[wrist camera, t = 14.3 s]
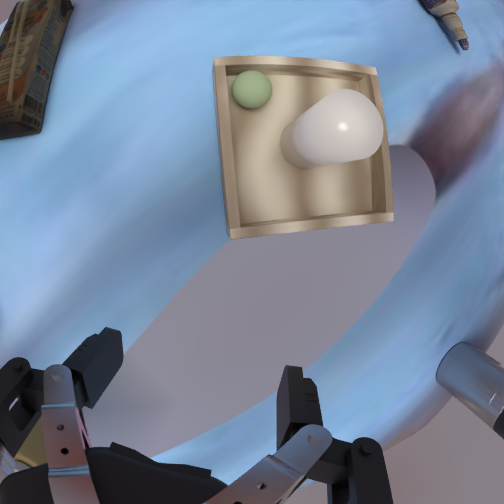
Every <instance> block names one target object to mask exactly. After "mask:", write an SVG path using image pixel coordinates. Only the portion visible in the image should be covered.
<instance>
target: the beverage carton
mask: <svg viewBox="0 0 504 504" xmlns="http://www.w3.org/2000/svg"><path fill="white" fill-rule="evenodd" d="M72 10H73V6H72V4H71V1H70V0H22V1H19V2H17V3H16V6H15V7H14V9H13V11H12V13H11V15H10V17H9V19H8V21H7V23H6V25H5V27H4V29H3V32H2V34H1V36H0V140H3V139H8V138H14V137H21V136H27V135H33V134H39V133H40V131H41V124H42V118H43V113H44V107H45V103H46V98H47V93H48V88H49V84H50V79H51V75H52V72H53V68H54V64H55V60H56V57H57V53H58V50H59V47H60V44H61V41H62V38H63V35H64V32H65V29H66V26H67V23H68V20H69V18H70V15H71V12H72Z"/></svg>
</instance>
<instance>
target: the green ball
mask: <svg viewBox="0 0 504 504" xmlns="http://www.w3.org/2000/svg"><path fill="white" fill-rule="evenodd" d="M231 92H232V96H233V98H234V99H235V101H236V102H237V103H238V104H240V105H241V106H243V107H246V108H257V107H260V106H262V105H264V104H265V103H266V102H268V100H269V99H270V97H271V95H272V84H271V81H270V80H269V78H268V77H267V76H266V75H265V74H263V73H261V72H259V71H254V70H249V71H245V72H242V73H240V74H239V75H238V76H237V77H236V78H235V79H234V81H233V83H232V87H231Z"/></svg>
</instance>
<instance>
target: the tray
mask: <svg viewBox="0 0 504 504" xmlns="http://www.w3.org/2000/svg"><path fill="white" fill-rule="evenodd" d="M249 70H254V71H259V72H261V73H263V74H265V75H266V76H267V77H268V78H269V80H270V81H271V84H272V95H271V97H270V99H269V100H268V102H266V103H265V104H264V105H262V106H260V107H257V108H246V107H243V106H241V105H240V104H238V103H237V102H236V101H235V99H234V98H233V96H232V92H231V87H232V83H233V81H234V79H235V78H236V77H237V76H238V75H239V74H240V73H242V72H245V71H249ZM212 72H213V85H214V98H215V110H216V122H217V133H218V145H219V155H220V166H221V176H222V186H223V196H224V206H225V215H226V225H227V234H228V236H229V238H230V239H231V240H234V239H242V238H249V237H258V236H266V235H275V234H283V233H292V232H301V231H309V230H318V229H326V228H336V227H344V226H354V225H363V224H373V223H382V222H392V221H393V220H394V218H393V192H392V178H391V164H390V154H389V145H388V136H387V129H386V122H385V115H384V109H383V103H382V97H381V92H380V87H379V82H378V77H377V72H376V68H373V67H368V66H363V65H357V64H351V63H344V62H337V61H329V60H321V59H311V58H298V57H280V56H231V57H214V62H213V70H212ZM338 89H351V90H354V91H357V92H359V93H361V94H363V95H364V96H366V97H367V98H368V99H369V100H371V102H372V103H373V104H374V105H375V107H376V108H377V110H378V111H379V114H380V116H381V119H382V122H383V139H382V142H381V145H380V147H379V148H378V150H377V151H376V152H375V153H374V154H373V155H371V156H370V157H367V158H365V159H360V160H354V161H349V162H343V163H338V164H332V165H327V166H322V167H317V168H312V169H300V168H297V167H295V166H293V165H291V164H290V163H289V162H288V161H287V160H286V159H285V158H284V156H283V154H282V152H281V149H280V137H281V134H282V132H283V130H284V129H285V128H286V126H288V125H289V124H290V123H291V122H293V121H294V120H295V119H296V118H298V117H299V116H300V115H302V114H303V113H304V112H305V111H307V110H308V109H309V108H311V107H312V106H313V105H315V104H316V103H317V102H319V101H320V100H321V99H323V98H324V97H325V96H327V95H328V94H329V93H331V92H333V91H335V90H338Z"/></svg>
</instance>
